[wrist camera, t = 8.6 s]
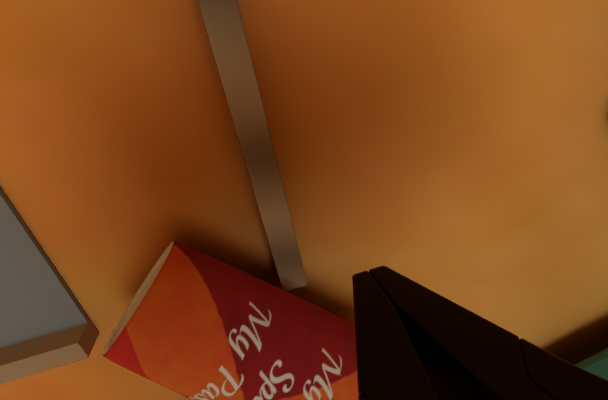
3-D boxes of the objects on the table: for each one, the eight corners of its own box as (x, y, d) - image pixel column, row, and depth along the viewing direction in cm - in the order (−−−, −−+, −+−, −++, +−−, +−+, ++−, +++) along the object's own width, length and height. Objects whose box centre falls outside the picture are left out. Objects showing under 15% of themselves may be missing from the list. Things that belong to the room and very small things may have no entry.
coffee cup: (153, 295, 12) (439, 429, 16) (200, 196, 19) (387, 308, 24) (56, 427, 14) (330, 510, 19) (131, 294, 21) (314, 377, 26)
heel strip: (302, 270, 22) (307, 285, 20) (280, 276, 22) (283, 292, 20) (230, -17, 15) (230, -24, 13) (196, -11, 14) (193, -16, 13)
